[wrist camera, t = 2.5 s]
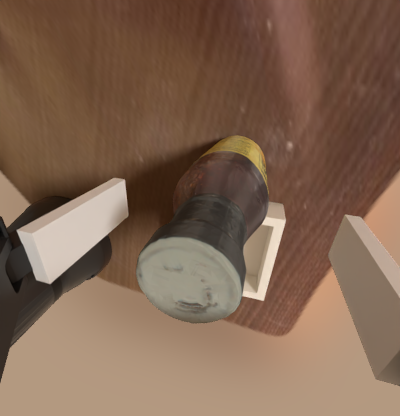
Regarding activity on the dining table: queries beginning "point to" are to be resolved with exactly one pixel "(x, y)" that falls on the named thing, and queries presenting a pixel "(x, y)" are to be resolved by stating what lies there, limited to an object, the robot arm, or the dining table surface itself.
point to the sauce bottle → (207, 234)
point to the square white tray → (263, 252)
